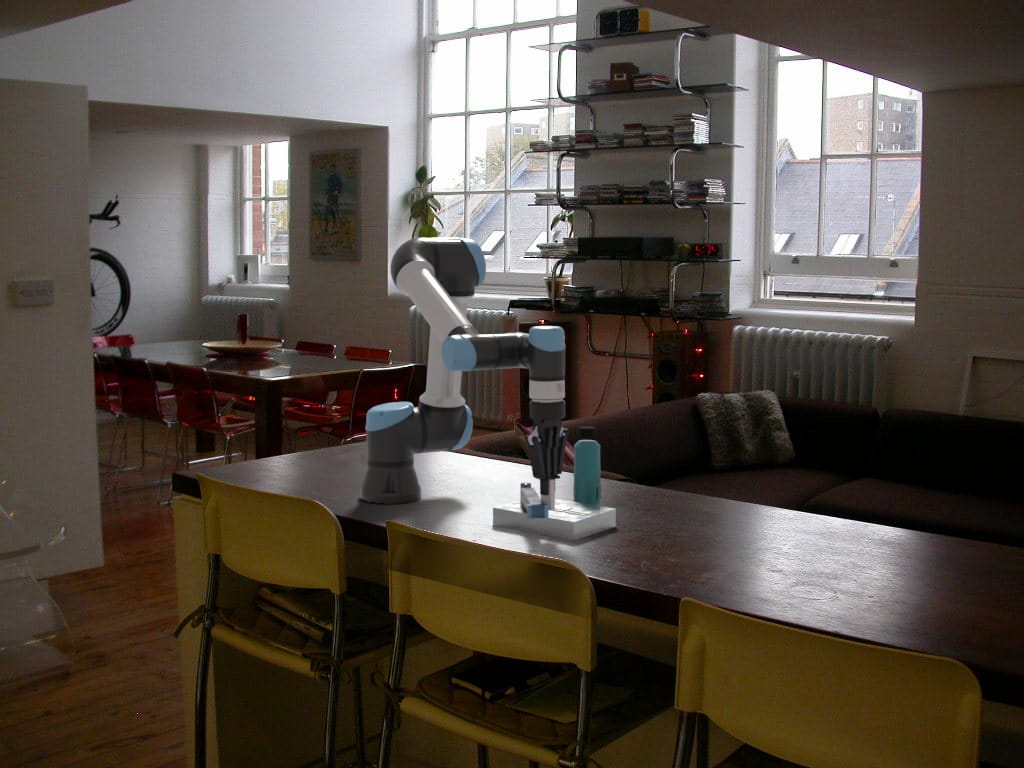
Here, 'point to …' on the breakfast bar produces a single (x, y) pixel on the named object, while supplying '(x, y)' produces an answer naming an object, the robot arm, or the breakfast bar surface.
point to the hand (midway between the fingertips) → (547, 509)
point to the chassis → (557, 518)
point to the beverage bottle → (587, 468)
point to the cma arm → (533, 504)
